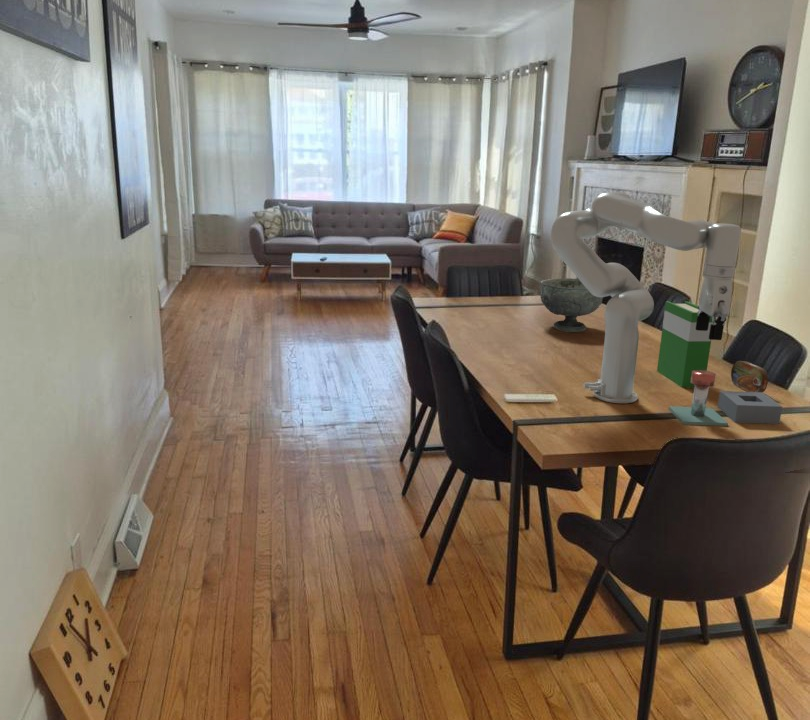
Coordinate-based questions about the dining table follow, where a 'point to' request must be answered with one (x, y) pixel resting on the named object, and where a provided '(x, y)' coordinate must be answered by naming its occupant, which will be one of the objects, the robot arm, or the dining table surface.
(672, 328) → the green cereal box
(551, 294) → the decorative bowl
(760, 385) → the tin
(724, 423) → the mat
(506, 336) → the dining table surface
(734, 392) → the grey flat block
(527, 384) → the dining table surface
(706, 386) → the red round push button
